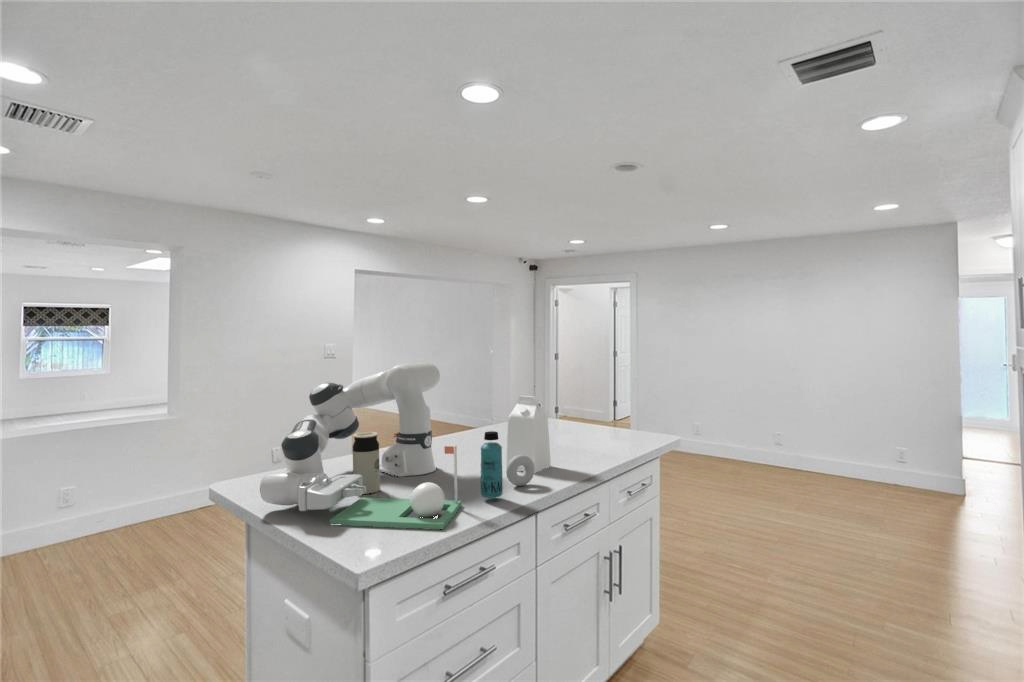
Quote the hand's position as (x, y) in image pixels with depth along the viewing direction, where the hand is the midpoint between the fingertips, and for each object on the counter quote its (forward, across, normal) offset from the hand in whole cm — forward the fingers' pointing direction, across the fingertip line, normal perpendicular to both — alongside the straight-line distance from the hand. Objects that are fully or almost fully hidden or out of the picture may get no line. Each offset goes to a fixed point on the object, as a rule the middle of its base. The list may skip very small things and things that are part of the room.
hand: (363, 491), depth 138 cm
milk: (+39, -52, -7) cm, 66 cm away
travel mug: (-8, -20, -7) cm, 23 cm away
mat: (+10, 0, -6) cm, 12 cm away
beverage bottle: (+32, -15, -7) cm, 37 cm away
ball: (+18, +1, -2) cm, 18 cm away
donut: (+39, -30, -7) cm, 50 cm away
